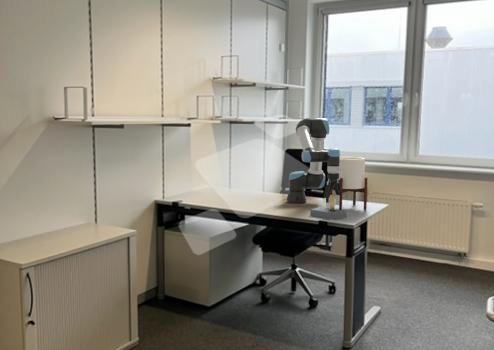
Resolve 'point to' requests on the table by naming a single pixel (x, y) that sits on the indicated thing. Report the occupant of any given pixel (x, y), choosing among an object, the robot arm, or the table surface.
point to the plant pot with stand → (352, 178)
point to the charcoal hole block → (328, 213)
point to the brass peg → (332, 203)
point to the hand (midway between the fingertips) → (332, 206)
